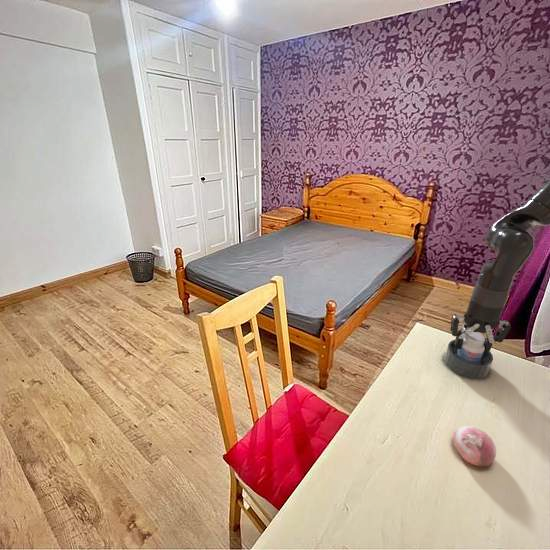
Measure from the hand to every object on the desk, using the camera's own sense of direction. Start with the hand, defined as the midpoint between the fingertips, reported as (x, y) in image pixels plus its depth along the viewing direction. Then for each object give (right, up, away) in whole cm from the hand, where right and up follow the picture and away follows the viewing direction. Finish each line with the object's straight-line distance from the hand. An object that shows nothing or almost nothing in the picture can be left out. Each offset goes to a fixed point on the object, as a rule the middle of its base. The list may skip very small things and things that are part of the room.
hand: (470, 348), depth 88 cm
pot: (0, -6, +3) cm, 7 cm away
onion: (-13, -19, -20) cm, 30 cm away
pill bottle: (0, -6, +3) cm, 7 cm away
